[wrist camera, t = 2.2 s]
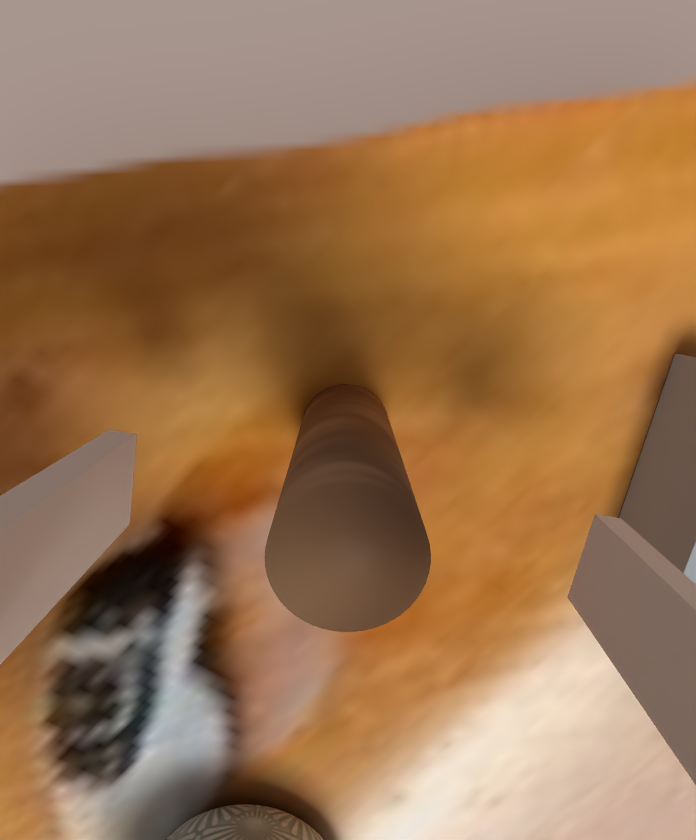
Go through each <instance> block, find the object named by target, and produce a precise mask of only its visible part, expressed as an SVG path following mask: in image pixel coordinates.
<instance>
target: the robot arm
mask: <svg viewBox="0 0 696 840" xmlns="http://www.w3.org/2000/svg"><path fill="white" fill-rule="evenodd" d="M136 438H137V434H131V433H125V432H120V431H114V430H108V431H106V432H104V433H103V434H101V435H99V436H98V437H96V438H95V439H93V440H91V441H90V442H88V443H86V444H85V445H83V446H81V447H80V448H78V449H76V450H75V451H73V452H71V453H70V454H68V455H67V456H65V457H63V458H62V459H60V460H58V461H57V462H55V463H53V464H52V465H50V466H48V467H47V468H45V469H43V470H42V471H40V472H39V473H37V474H35V475H34V476H32V477H30V478H29V479H27V480H25V481H24V482H22V483H20V484H19V485H17V486H15V487H14V488H12V489H11V490H9V491H7V492H6V493H4V494H2V495H1V496H0V665H1V664H2V662H3V661H4V660H5V659H6V658H7V657H8V656H9V655H10V654H11V653H12V652H13V651H14V649H15V648H16V647H17V646H18V645H19V644H20V643H21V642H22V641H23V640H24V639H25V637H26V636H27V635H28V634H29V633H30V632H31V631H32V630H33V629H34V628H35V627H36V626H37V624H38V623H39V622H40V621H41V620H42V619H43V618H44V617H45V616H46V615H47V614H48V612H49V611H50V610H51V609H52V608H53V607H54V606H55V605H56V604H57V603H58V602H59V601H60V599H61V598H62V597H63V596H64V595H65V594H66V593H67V592H68V591H69V590H70V589H71V587H72V586H73V585H74V584H75V583H76V582H77V581H78V580H79V579H80V578H81V577H82V575H83V574H84V573H85V572H86V571H87V570H88V569H89V568H90V567H91V566H92V565H93V564H94V562H95V561H96V560H97V559H98V558H99V557H100V556H101V555H102V554H103V553H104V552H105V550H106V549H107V548H108V547H109V546H110V545H111V544H112V543H113V542H114V541H115V540H116V539H117V537H118V536H119V535H120V534H121V533H122V532H123V531H124V530H125V529H126V528H127V527H128V525H129V524H130V515H131V502H132V489H133V477H134V464H135V451H136ZM568 598H569V600H570V601H571V603H572V604H573V606H574V607H575V609H576V610H577V612H578V613H579V615H580V616H581V618H582V619H583V620H584V622H585V623H586V625H587V626H588V628H589V629H590V631H591V632H592V634H593V635H594V637H595V638H596V640H597V641H598V642H599V644H600V645H601V647H602V648H603V650H604V651H605V653H606V654H607V656H608V657H609V659H610V660H611V662H612V663H613V664H614V666H615V667H616V669H617V670H618V672H619V673H620V675H621V676H622V678H623V679H624V681H625V682H626V684H627V685H628V686H629V688H630V689H631V691H632V692H633V694H634V695H635V697H636V698H637V700H638V701H639V703H640V704H641V706H642V707H643V708H644V710H645V711H646V713H647V714H648V716H649V717H650V719H651V720H652V722H653V723H654V725H655V726H656V727H657V729H658V730H659V732H660V733H661V735H662V736H663V738H664V739H665V741H666V742H667V744H668V745H669V747H670V748H671V749H672V751H673V752H674V754H675V755H676V757H677V758H678V760H679V761H680V763H681V764H682V766H683V767H684V769H685V770H686V771H687V773H688V774H689V776H690V777H691V779H692V780H693V782H694V783H695V785H696V584H695V583H694V582H693V581H691V580H690V579H689V578H688V577H687V576H686V575H685V574H683V573H682V572H681V571H680V570H679V569H678V568H677V567H675V566H674V565H673V564H672V563H671V562H670V561H669V560H668V559H666V558H665V557H664V556H663V555H662V554H661V553H660V552H658V551H657V550H656V549H655V548H654V547H653V546H652V545H651V544H649V543H648V542H647V541H646V540H645V539H644V538H643V537H641V536H640V535H639V534H638V533H637V532H636V531H635V530H634V529H632V528H631V527H630V526H629V525H628V524H627V523H626V522H624V521H623V520H622V519H621V518H615V517H610V516H604V515H598V514H595V516H594V519H593V522H592V525H591V528H590V531H589V534H588V537H587V540H586V543H585V546H584V549H583V552H582V555H581V558H580V561H579V564H578V567H577V570H576V573H575V576H574V579H573V582H572V585H571V588H570V591H569V594H568Z"/></svg>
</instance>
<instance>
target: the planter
mask: <svg viewBox="0 0 696 840" xmlns="http://www.w3.org/2000/svg"><path fill="white" fill-rule="evenodd" d="M166 840H323V838H322V837H321V836H320V835H319V834H318V833H317V832H316V831H315V830H314V829H313V828H311V827H310V826H309V825H308V824H306V823H305V822H303V821H302V820H300V819H299V818H297V817H295V816H293V815H291V814H289V813H287V812H284V811H282V810H279V809H275V808H271V807H267V806H261V805H251V804H238V805H229V806H224V807H219V808H216V809H212V810H210V811H207V812H204V813H202V814H199V815H197V816H195V817H193V818H191V819H190V820H188V821H187V822H185V823H184V824H183V825H181V826H180V827H179V828H177V829H176V830H175V831H174V832H173V833H172V834H171V835H170V836H169V837H168V838H167V839H166Z"/></svg>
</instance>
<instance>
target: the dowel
mask: <svg viewBox="0 0 696 840" xmlns="http://www.w3.org/2000/svg"><path fill="white" fill-rule="evenodd" d="M430 563H431V552H430V544H429V540H428V537H427V533H426V530H425V527H424V524H423V521H422V518H421V515H420V512H419V509H418V506H417V503H416V500H415V497H414V494H413V491H412V488H411V485H410V482H409V479H408V476H407V473H406V470H405V467H404V464H403V461H402V458H401V455H400V452H399V449H398V446H397V443H396V440H395V437H394V434H393V431H392V428H391V425H390V422H389V419H388V416H387V413H386V411H385V408H384V406H383V405H382V403H381V402H380V400H379V399H378V398H377V397H376V396H375V395H374V394H372V393H371V392H370V391H368V390H366V389H364V388H362V387H359V386H355V385H336V386H333V387H330V388H327V389H325V390H324V391H322V392H320V393H319V394H318V395H317V396H315V398H314V399H313V400H312V401H311V402H310V404H309V405H308V407H307V409H306V411H305V414H304V417H303V421H302V424H301V427H300V431H299V434H298V438H297V441H296V444H295V448H294V451H293V454H292V458H291V461H290V465H289V468H288V471H287V475H286V478H285V481H284V485H283V488H282V492H281V495H280V498H279V502H278V505H277V509H276V512H275V515H274V519H273V522H272V525H271V529H270V532H269V536H268V539H267V544H266V549H265V567H266V572H267V577H268V579H269V582H270V585H271V587H272V589H273V591H274V592H275V594H276V596H277V597H278V598H279V600H280V601H281V602H282V604H283V605H284V606H285V607H286V608H287V609H288V610H289V611H291V612H292V613H293V614H294V615H296V616H297V617H299V618H300V619H302V620H303V621H305V622H307V623H309V624H312V625H314V626H317V627H320V628H323V629H327V630H332V631H340V632H356V631H363V630H368V629H372V628H375V627H378V626H381V625H383V624H386V623H388V622H389V621H391V620H393V619H395V618H396V617H398V616H399V615H401V614H402V613H403V612H404V611H405V610H407V609H408V608H409V607H410V606H411V605H412V604H413V602H414V601H415V600H416V599H417V597H418V596H419V594H420V593H421V591H422V589H423V587H424V585H425V583H426V580H427V577H428V574H429V569H430Z"/></svg>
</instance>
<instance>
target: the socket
mask: <svg viewBox="0 0 696 840" xmlns="http://www.w3.org/2000/svg"><path fill="white" fill-rule="evenodd" d="M619 518H621V519H622V520H623V521H624V522H626V523H627V524H628V525H629V526H630V527H631V528H632V529H634V530H635V531H636V532H637V533H638V534H639V535H640V536H641V537H643V538H644V539H645V540H646V541H647V542H648V543H649V544H651V545H652V546H653V547H654V548H655V549H656V550H657V551H658V552H660V553H661V554H662V555H663V556H664V557H665V558H666V559H668V560H669V561H670V562H671V563H672V564H673V565H674V566H675V567H677V568H678V569H679V570H680V571H681V572H682V573H683V574H685V575H686V576H687V577H688V578H689V579H690V580H691V581H693V582H694V583H695V584H696V357H692V356H687V355H682V354H676V353H675V355H674V358H673V361H672V364H671V367H670V370H669V373H668V375H667V378H666V381H665V384H664V387H663V390H662V393H661V396H660V399H659V402H658V405H657V408H656V411H655V413H654V416H653V419H652V422H651V425H650V428H649V431H648V434H647V437H646V440H645V443H644V446H643V448H642V451H641V454H640V457H639V460H638V463H637V466H636V469H635V472H634V475H633V478H632V481H631V483H630V486H629V489H628V492H627V495H626V498H625V501H624V504H623V507H622V510H621V513H620V516H619Z"/></svg>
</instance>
